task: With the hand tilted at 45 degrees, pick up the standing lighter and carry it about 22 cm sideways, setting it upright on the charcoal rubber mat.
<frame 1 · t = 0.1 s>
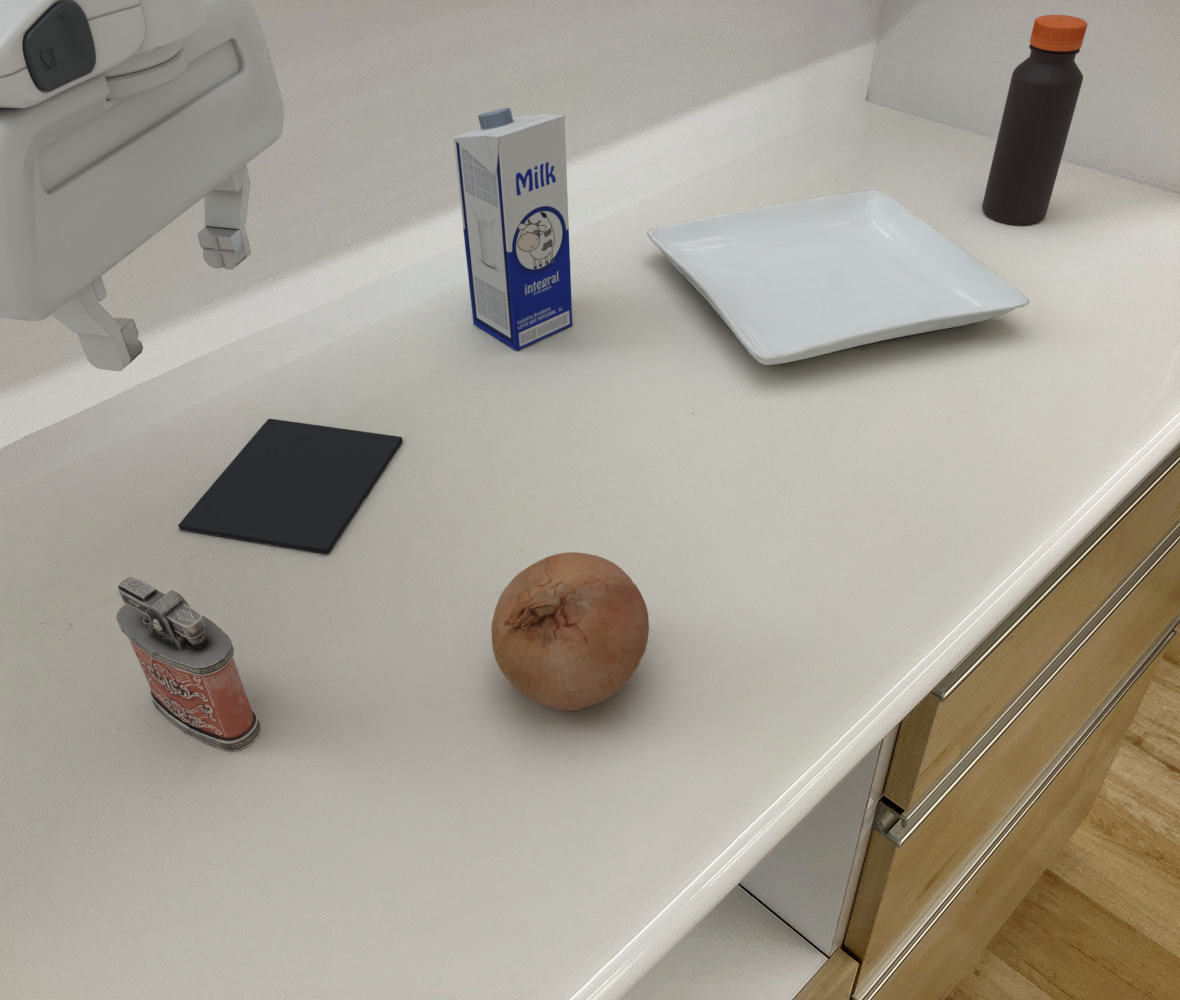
hand: (178, 308, 48), 27 cm above the worktop, tool pointing down, fingers open, 8 cm apart
square plate: (821, 295, 103), on the worktop
bottle: (1012, 214, 116), on the worktop
milk carton: (522, 326, 99), on the worktop
mat: (296, 483, 81), on the worktop
lighter: (207, 716, 64), on the worktop
onion: (572, 679, 66), on the worktop
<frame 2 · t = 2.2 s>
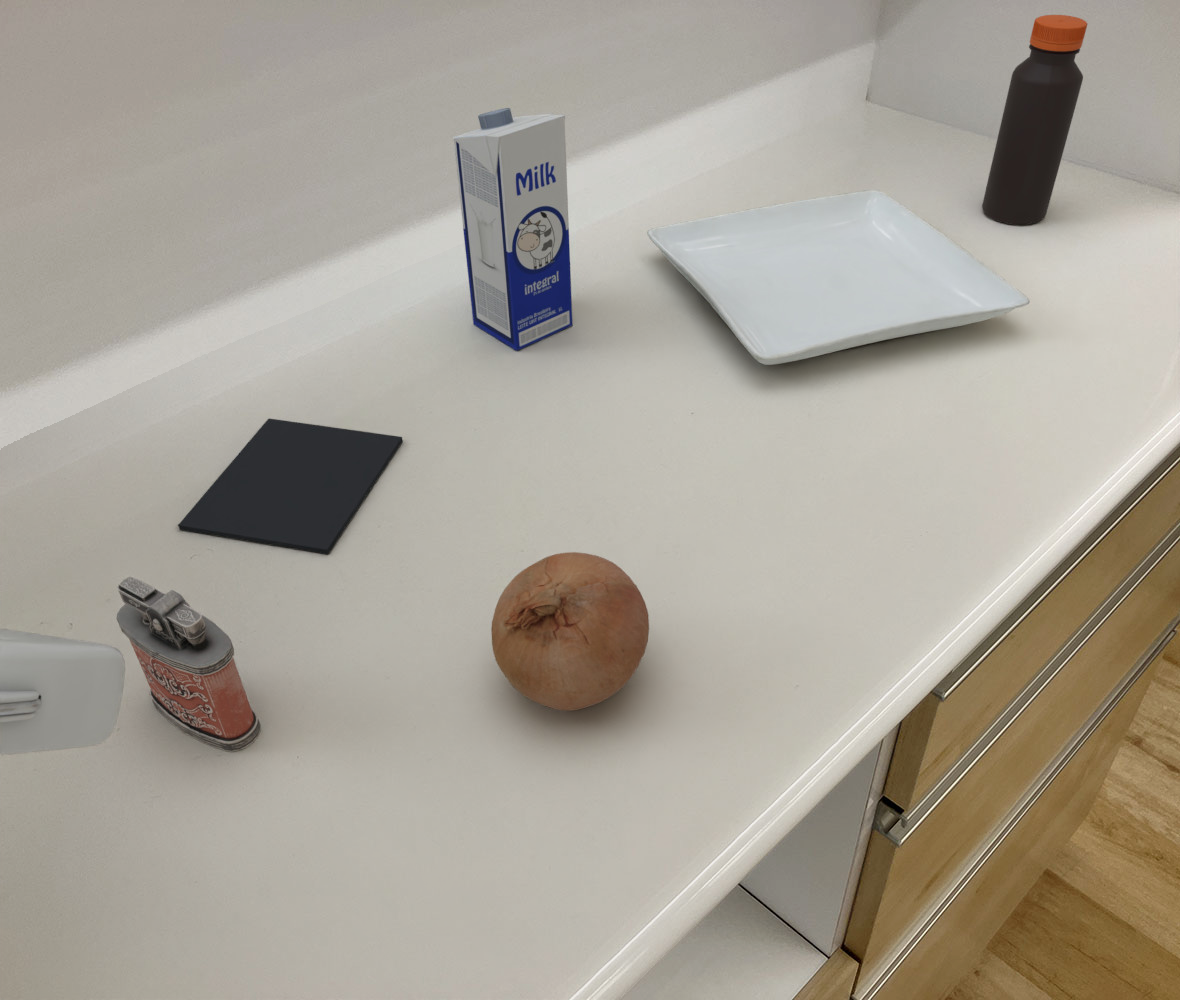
nothing on the worktop moved.
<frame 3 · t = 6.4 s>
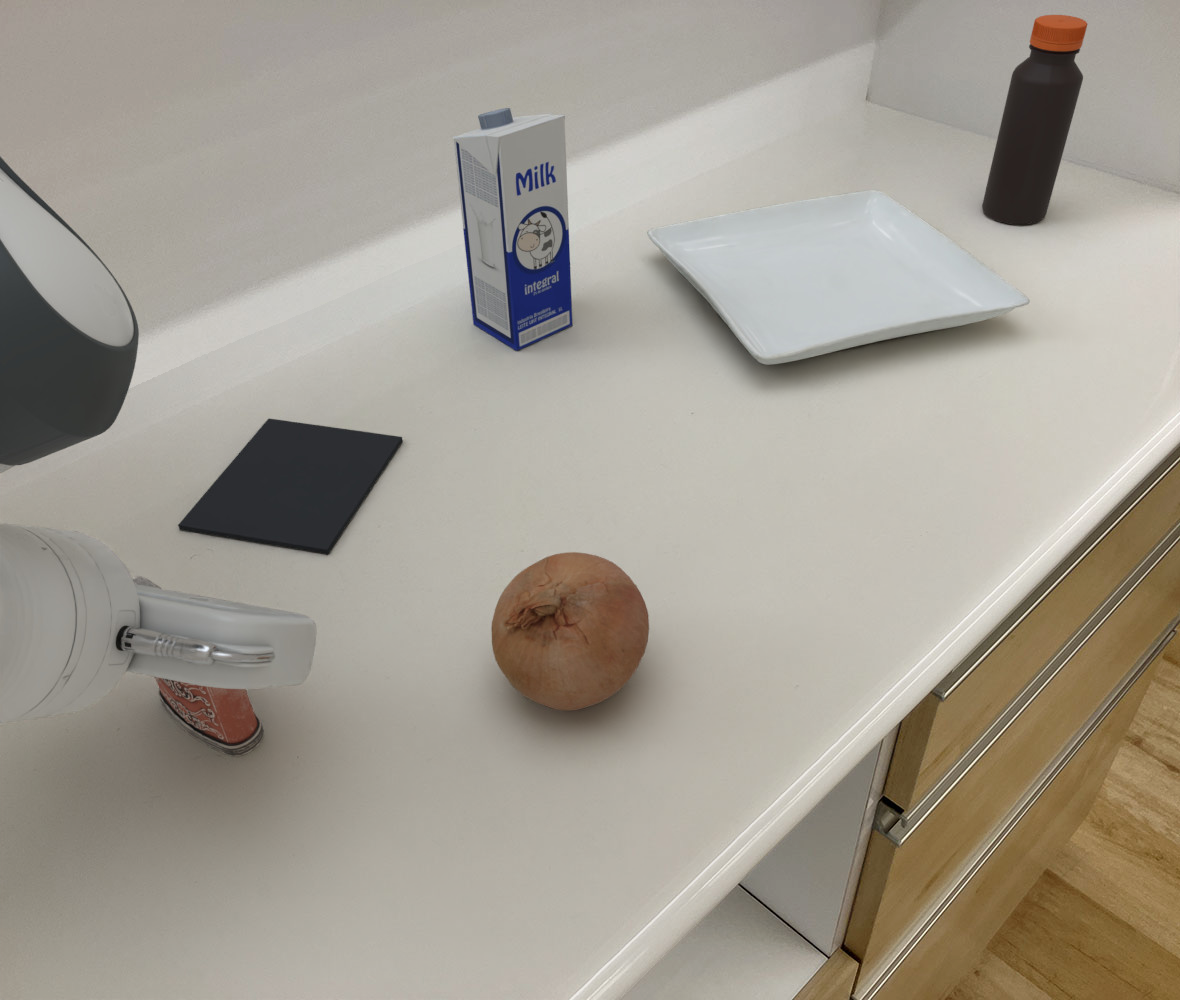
hand: (199, 619, 62), 6 cm above the worktop, tool tilted 45°, fingers closed on lighter, 6 cm apart
lighter: (213, 718, 64), on the worktop, touching gripper
everything else where it was.
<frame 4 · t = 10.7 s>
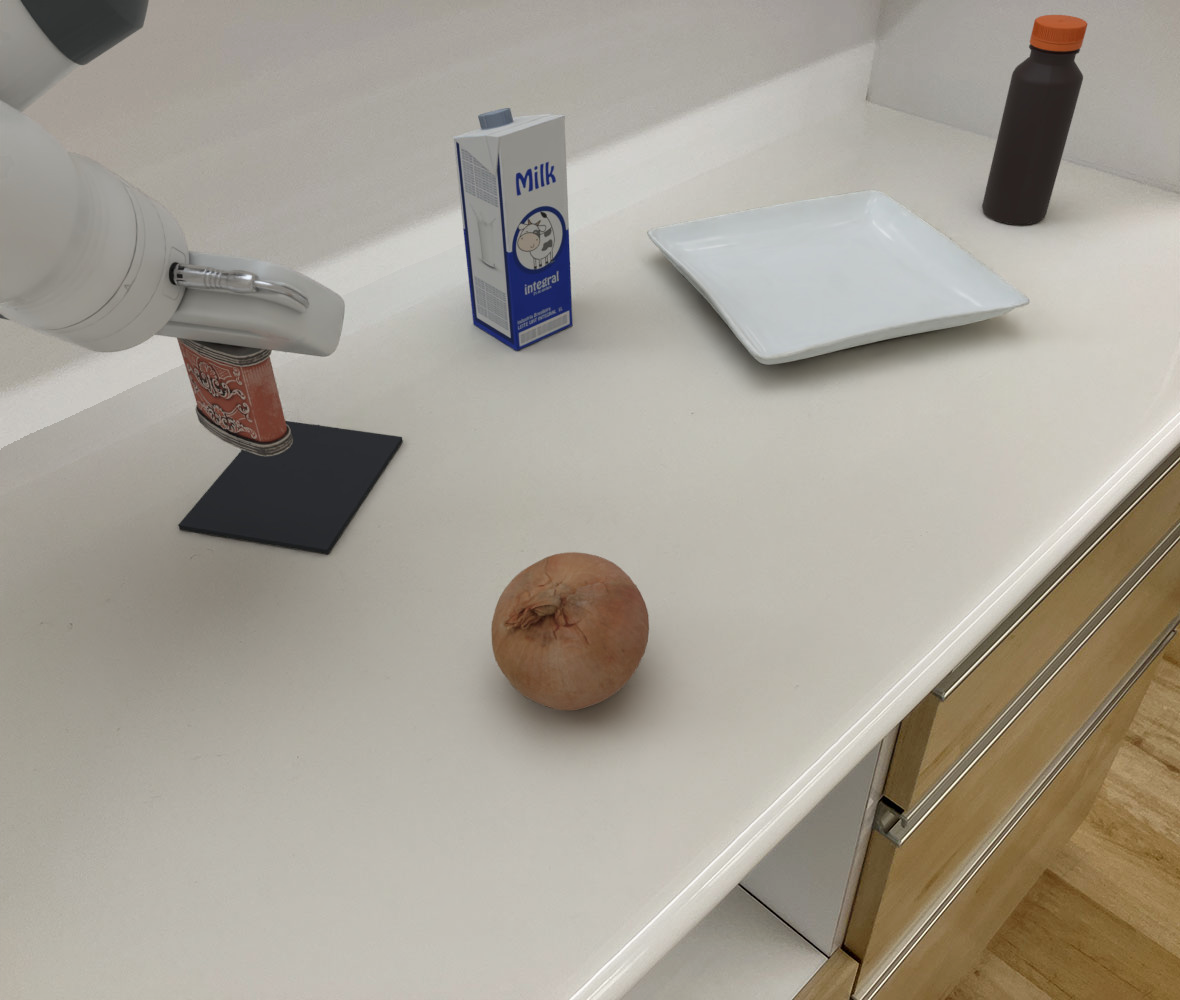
hand: (234, 332, 68), 16 cm above the worktop, tool tilted 45°, fingers closed on lighter, 6 cm apart
lighter: (245, 431, 69), point 10 cm above the worktop, touching gripper
everything else where it was.
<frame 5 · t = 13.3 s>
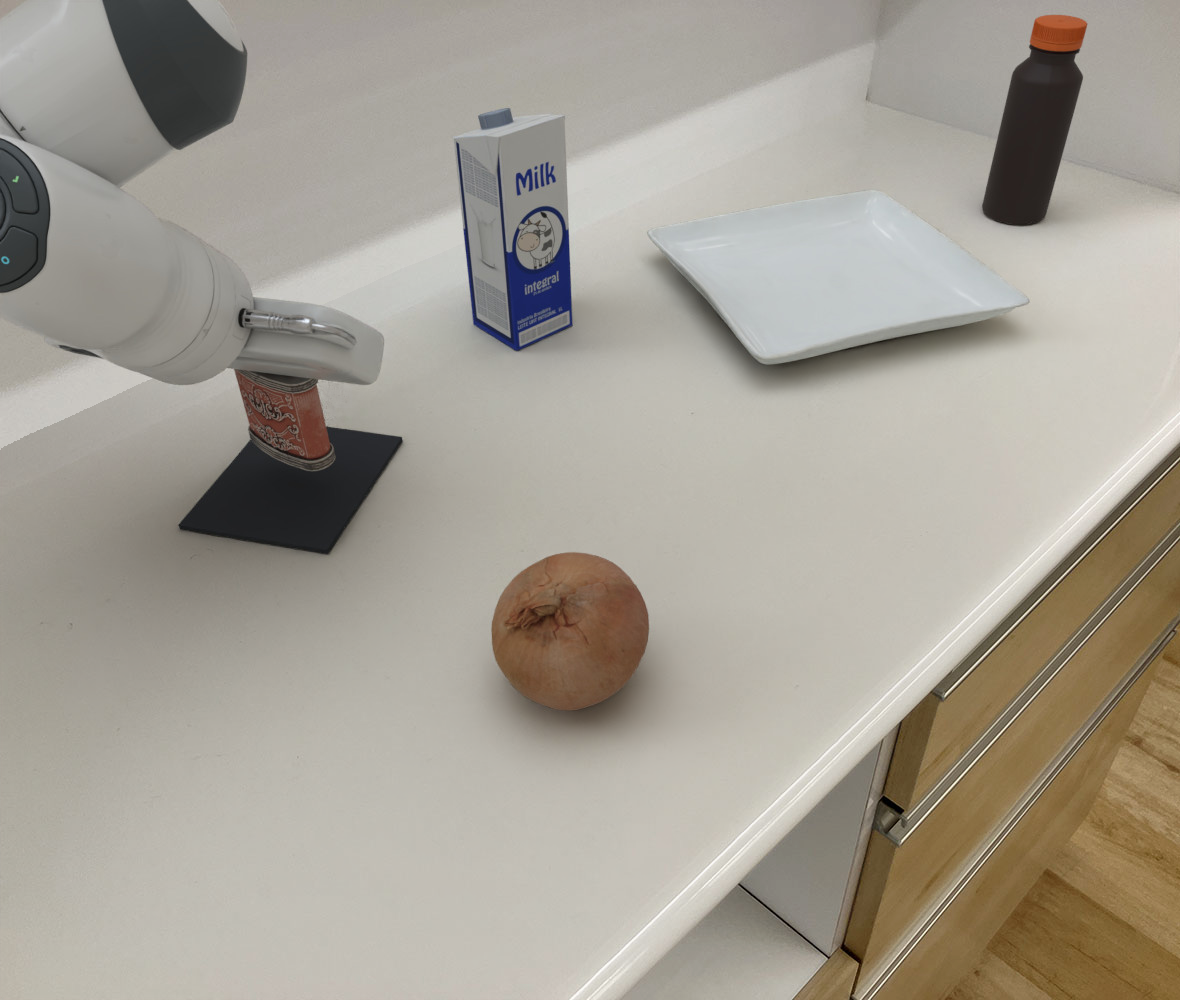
hand: (283, 362, 77), 10 cm above the worktop, tool tilted 45°, fingers closed on lighter, 6 cm apart
lighter: (292, 449, 79), point 4 cm above the worktop, touching gripper
everything else where it was.
when the fingers open (6 cm above the worktop, at t = 14.9 s): lighter stays where it is, resting on mat.
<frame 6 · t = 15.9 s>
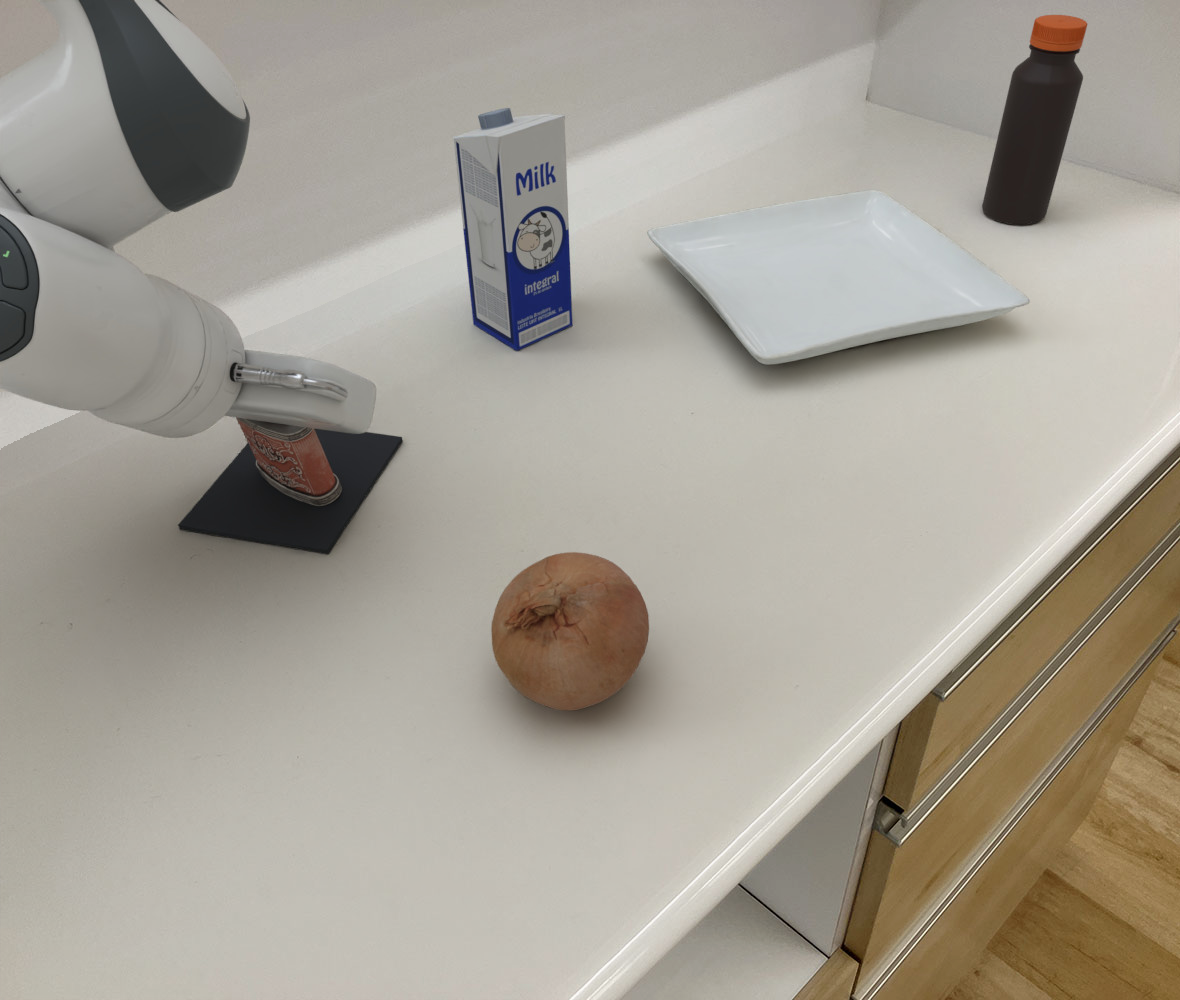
hand: (276, 406, 77), 7 cm above the worktop, tool tilted 45°, fingers open, 8 cm apart
lighter: (300, 481, 80), point 1 cm above the worktop, touching mat
everything else where it was.
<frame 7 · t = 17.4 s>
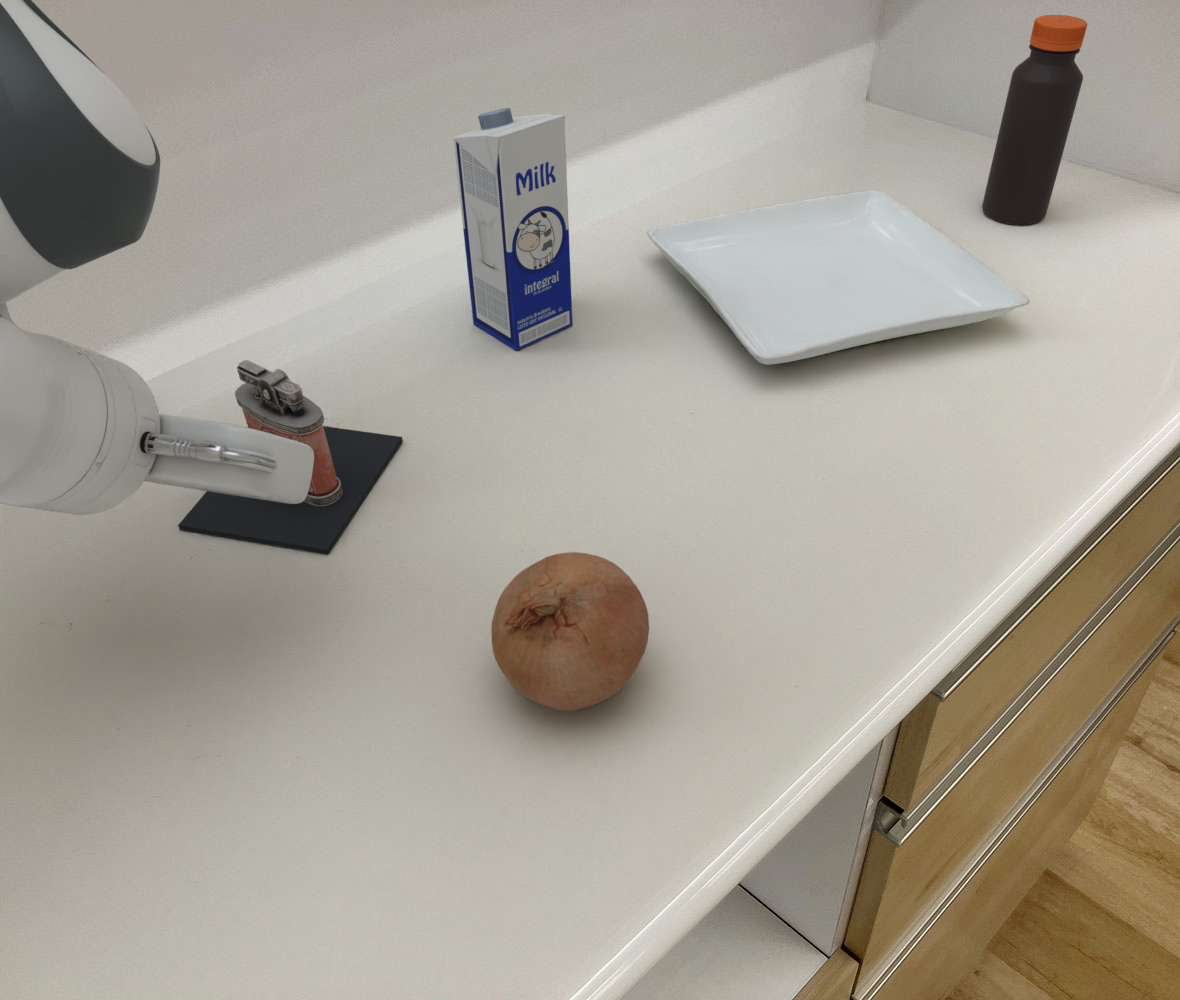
hand: (209, 466, 69), 8 cm above the worktop, tool tilted 45°, fingers open, 8 cm apart
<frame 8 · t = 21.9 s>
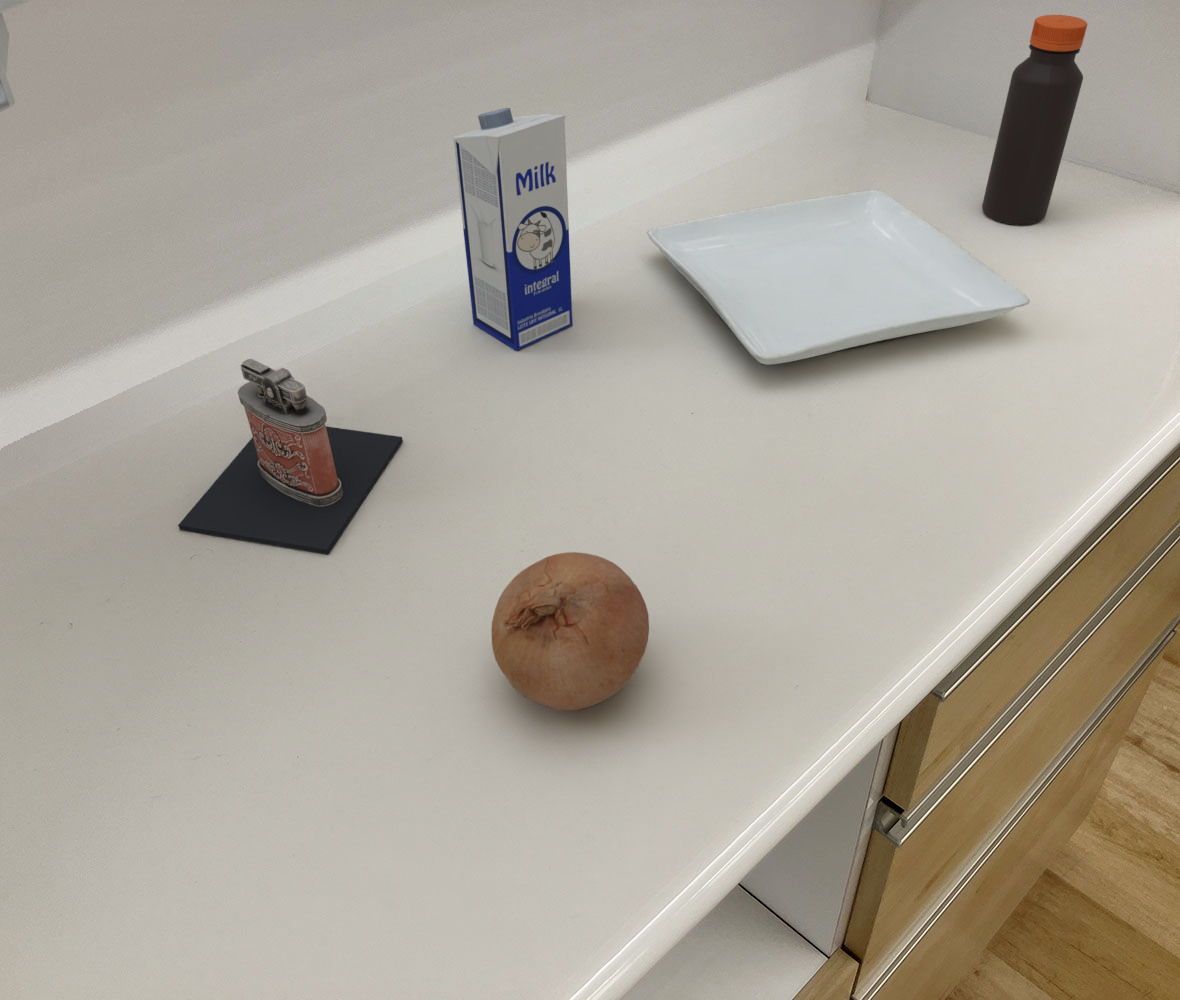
nothing on the worktop moved.
at the end: lighter inside the target area on the mat (0.7 cm from its centre), point 0.3 cm above the mat's base; lighter tilted 0°; the gripper is holding nothing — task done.
